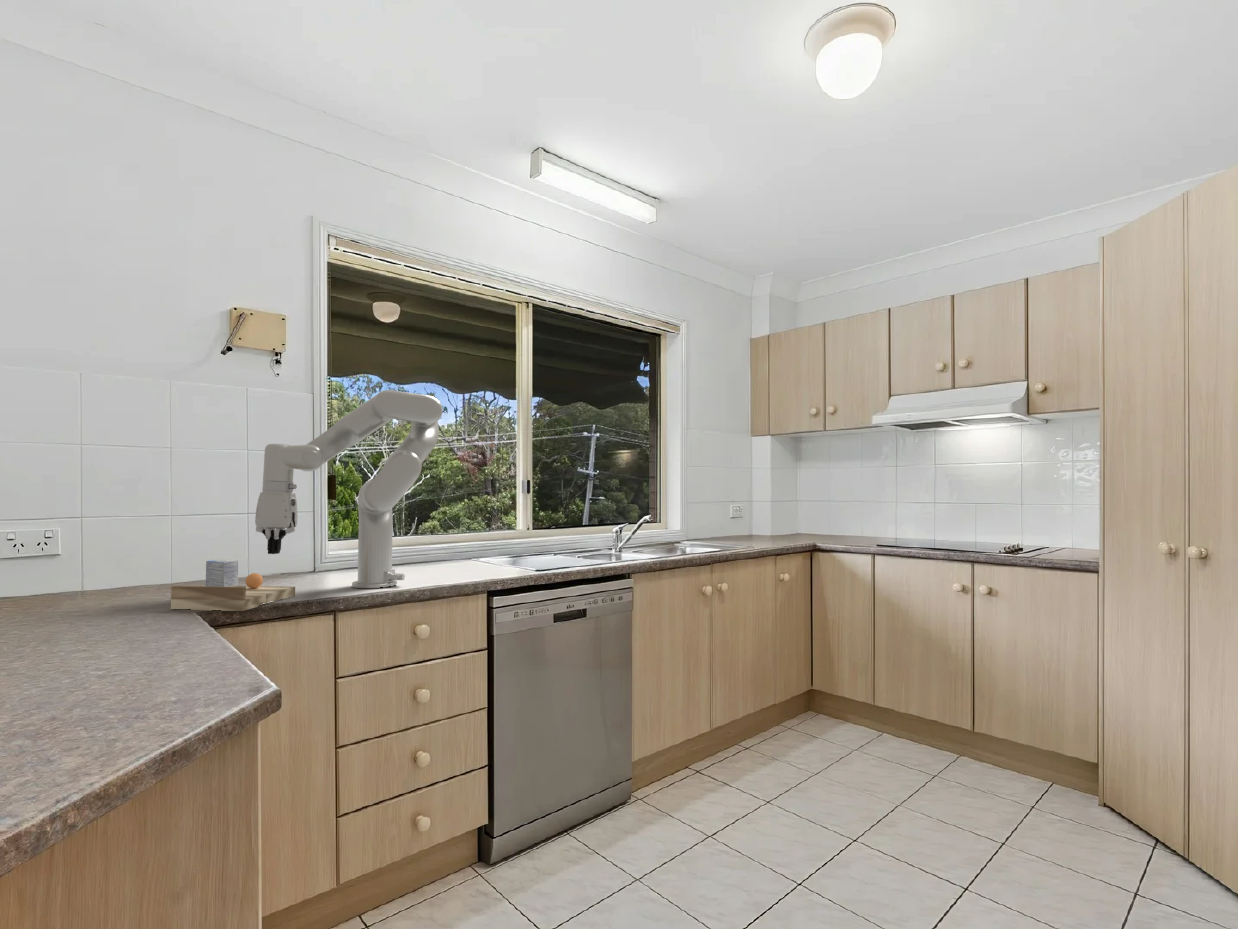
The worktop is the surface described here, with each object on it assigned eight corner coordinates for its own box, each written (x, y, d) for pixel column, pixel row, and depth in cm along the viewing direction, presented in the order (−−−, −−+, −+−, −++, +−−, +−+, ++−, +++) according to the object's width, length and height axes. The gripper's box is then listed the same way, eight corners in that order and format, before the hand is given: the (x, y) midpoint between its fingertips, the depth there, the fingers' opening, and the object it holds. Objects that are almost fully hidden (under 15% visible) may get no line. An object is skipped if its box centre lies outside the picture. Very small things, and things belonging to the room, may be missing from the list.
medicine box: (238, 591, 187) (239, 560, 187) (223, 593, 183) (224, 561, 183) (220, 589, 190) (221, 558, 191) (204, 591, 186) (205, 560, 187)
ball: (265, 587, 177) (266, 572, 178) (256, 589, 173) (256, 574, 174) (251, 587, 178) (251, 572, 178) (242, 589, 174) (242, 574, 174)
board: (231, 594, 180) (231, 574, 180) (295, 596, 179) (295, 575, 179) (170, 609, 158) (171, 586, 158) (242, 611, 157) (243, 587, 157)
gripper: (310, 489, 189) (306, 553, 189) (260, 487, 191) (256, 551, 190) (295, 488, 182) (291, 555, 181) (243, 486, 183) (239, 553, 182)
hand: (273, 553), depth 185 cm, fingers closed
